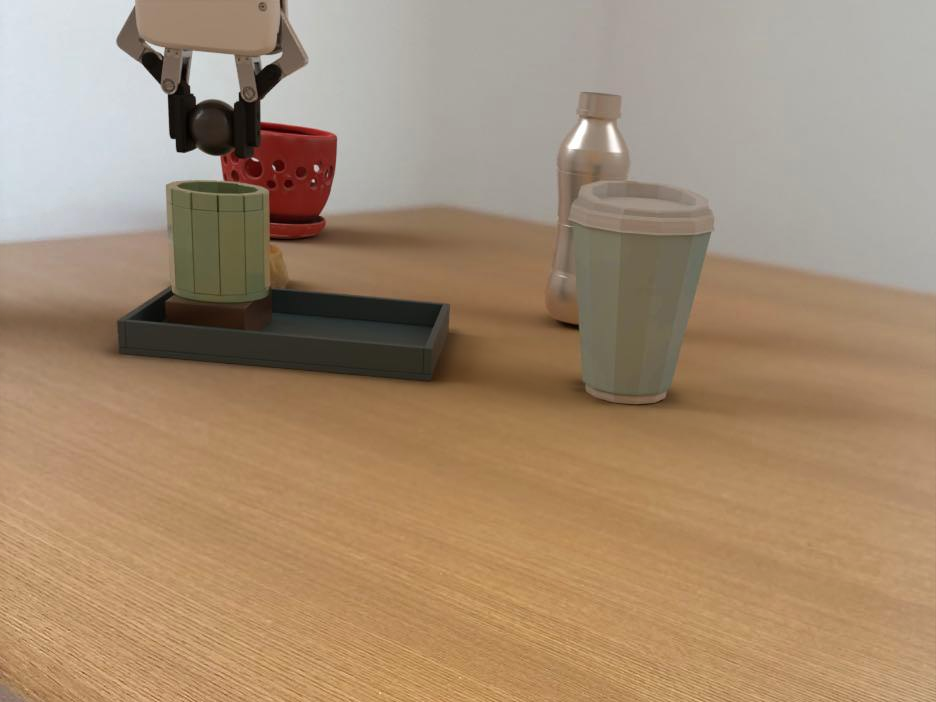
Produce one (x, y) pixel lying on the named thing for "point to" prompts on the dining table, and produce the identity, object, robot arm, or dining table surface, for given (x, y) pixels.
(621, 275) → the disposable coffee cup
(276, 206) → the flower pot
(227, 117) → the ball
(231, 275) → the jar
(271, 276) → the pastry
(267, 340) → the tray
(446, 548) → the dining table surface
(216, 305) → the riser
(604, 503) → the dining table surface
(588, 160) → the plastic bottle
